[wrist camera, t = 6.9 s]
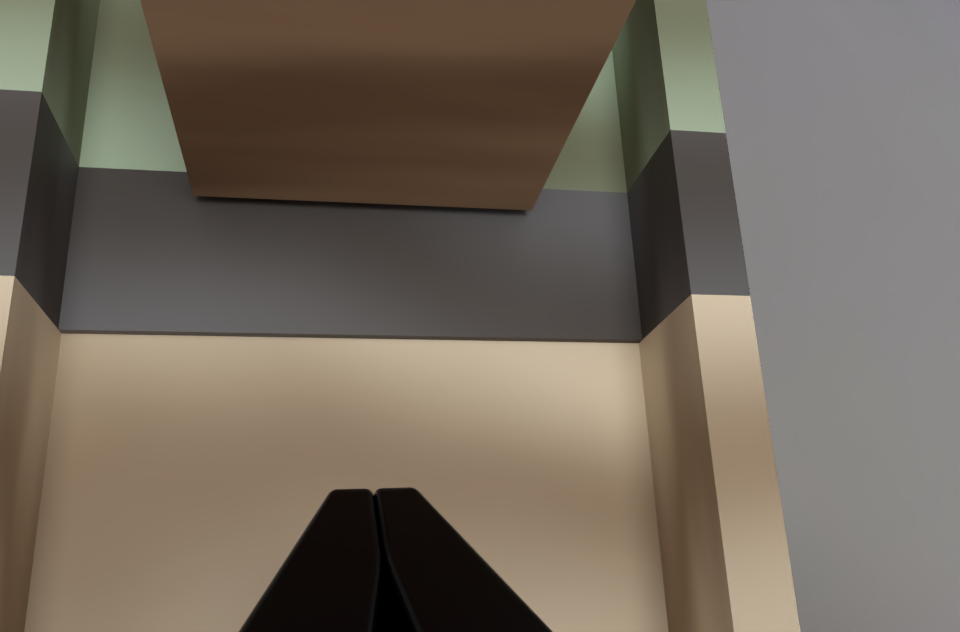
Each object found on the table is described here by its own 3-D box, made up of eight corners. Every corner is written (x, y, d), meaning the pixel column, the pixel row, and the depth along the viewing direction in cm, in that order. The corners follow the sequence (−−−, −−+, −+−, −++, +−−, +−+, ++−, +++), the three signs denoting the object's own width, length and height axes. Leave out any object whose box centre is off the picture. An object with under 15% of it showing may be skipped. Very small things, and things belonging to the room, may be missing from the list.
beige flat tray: (770, 749, 15) (890, 776, 12) (-125, 809, 13) (-270, 863, 10) (646, -174, 23) (702, -311, 19) (52, -245, 20) (2, -416, 17)
